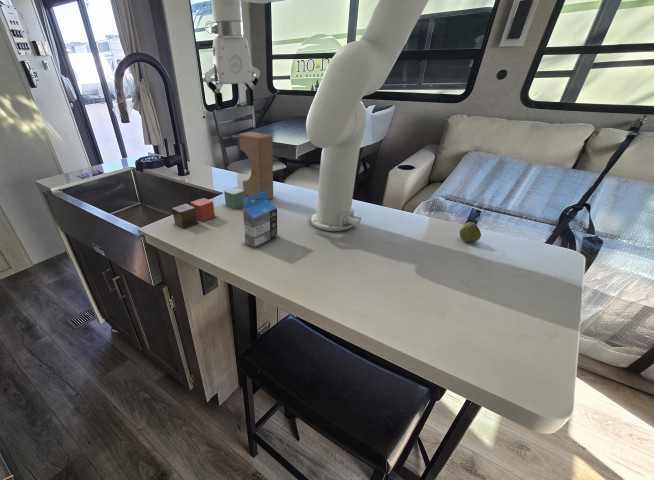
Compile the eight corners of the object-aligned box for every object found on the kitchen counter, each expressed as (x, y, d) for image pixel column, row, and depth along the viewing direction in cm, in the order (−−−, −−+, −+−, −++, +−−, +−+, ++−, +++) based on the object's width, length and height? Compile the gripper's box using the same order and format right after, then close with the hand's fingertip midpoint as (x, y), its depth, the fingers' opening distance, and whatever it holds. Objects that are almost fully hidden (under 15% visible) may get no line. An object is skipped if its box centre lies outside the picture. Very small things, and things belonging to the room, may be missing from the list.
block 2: (215, 216, 98) (212, 201, 95) (201, 221, 96) (199, 206, 93) (206, 212, 101) (203, 197, 98) (193, 217, 99) (190, 202, 96)
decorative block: (242, 194, 114) (238, 133, 102) (255, 190, 116) (252, 131, 104) (261, 202, 107) (258, 138, 95) (274, 198, 109) (273, 135, 97)
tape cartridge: (254, 248, 81) (252, 202, 73) (244, 244, 83) (241, 199, 76) (277, 236, 86) (277, 192, 78) (267, 232, 88) (266, 189, 80)
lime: (458, 235, 82) (465, 217, 79) (479, 240, 80) (487, 222, 77) (454, 241, 80) (461, 223, 77) (475, 247, 77) (483, 228, 74)
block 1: (197, 223, 95) (194, 207, 92) (183, 228, 92) (180, 212, 89) (189, 218, 98) (186, 203, 95) (175, 223, 95) (171, 208, 92)
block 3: (246, 205, 105) (245, 190, 102) (234, 209, 102) (233, 194, 99) (237, 201, 108) (235, 187, 105) (225, 205, 105) (224, 191, 102)
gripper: (202, 31, 76) (212, 111, 86) (264, 29, 82) (266, 105, 92) (192, 34, 81) (203, 109, 92) (251, 32, 88) (255, 103, 98)
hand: (235, 107), depth 92 cm, fingers open, 9 cm apart
